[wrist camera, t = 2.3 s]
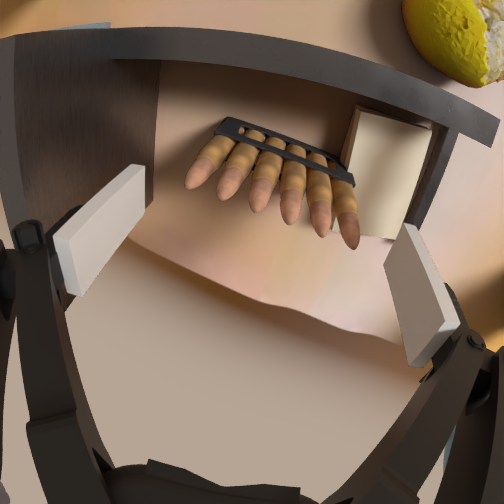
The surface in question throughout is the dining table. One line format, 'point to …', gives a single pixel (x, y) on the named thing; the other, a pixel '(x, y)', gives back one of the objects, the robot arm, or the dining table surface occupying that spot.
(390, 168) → the offcut upper
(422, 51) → the fruit
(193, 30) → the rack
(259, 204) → the ammunition clip
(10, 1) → the dining table surface
